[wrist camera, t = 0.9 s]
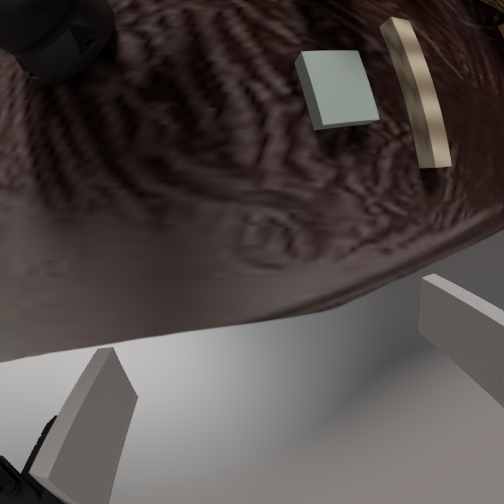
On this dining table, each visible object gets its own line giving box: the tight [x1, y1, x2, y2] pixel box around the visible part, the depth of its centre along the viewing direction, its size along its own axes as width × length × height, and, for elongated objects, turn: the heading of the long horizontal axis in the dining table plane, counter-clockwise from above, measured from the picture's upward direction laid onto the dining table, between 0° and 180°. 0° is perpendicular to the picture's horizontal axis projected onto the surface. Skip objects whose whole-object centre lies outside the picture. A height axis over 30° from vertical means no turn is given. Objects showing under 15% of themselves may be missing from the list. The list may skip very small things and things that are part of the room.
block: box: [295, 50, 379, 130], centre depth 31 cm, size 10×8×4 cm
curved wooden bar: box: [379, 17, 451, 168], centre depth 31 cm, size 24×4×4 cm, turn 12°
